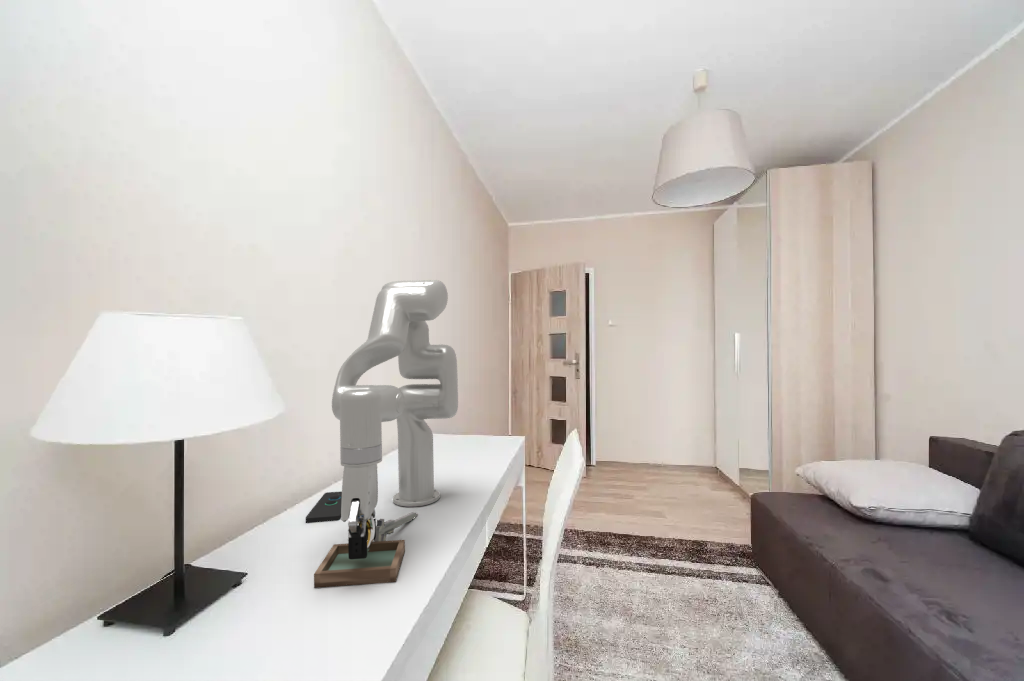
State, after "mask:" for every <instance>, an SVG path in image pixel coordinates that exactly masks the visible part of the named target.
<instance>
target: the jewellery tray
mask: <svg viewBox="0 0 1024 681" xmlns="http://www.w3.org/2000/svg"><path fill="white" fill-rule="evenodd" d="M405 552H406V539H397V540H396V539H394V540H393V539H392V540H386V541H377V542H374V541H373V542H372V545H371V547H370V549H369V550H368V552H367V557H366V558H364V559H349V556H348V542H347V543H334V544H333V545H332V547H331V548H330V549H329V550H328V552H327V554H326V556H325V557H324V558H323V559H322V561H321V563H320V564H319V566H318V567H317V569H316V571H315V572H314V573H313V588H314V589H319V588H320V589H321V588H332V587H334V588H335V587H346V586H347V587H348V586H357V585H358V586H359V585H361V586H362V585H371V584H372V585H373V584H385V583H387V584H389V583H397V580H398V577H399V573H400V569H401V566H402V562H403V559H404V556H405Z"/></svg>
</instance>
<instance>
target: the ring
mask: <svg viewBox="0 0 1024 681" xmlns="http://www.w3.org/2000/svg"><path fill="white" fill-rule="evenodd" d="M358 518H363V515H360V516H358ZM374 519H375V518H373V516H370V518H369V519H367V520H366V525H367V527H368V540H367V552H368V550H369V549H370V547H371V545H372V542H374V540H373V539H374V534H375V523H374ZM360 527H362V522H361V524H360Z"/></svg>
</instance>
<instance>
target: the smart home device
mask: <svg viewBox="0 0 1024 681" xmlns="http://www.w3.org/2000/svg"><path fill="white" fill-rule="evenodd" d="M341 505H342V490H341V491H329V492H328V491H327V492H324V493H323V495H322V496H321V497H320V498H319V500H318V501H317V502H316V504H314V506H313V507H312V508H311V509H310V511H309V513H307V515H306V516H305V524H313V523H327V522H335V521H336V522H338V521H340V520H341Z"/></svg>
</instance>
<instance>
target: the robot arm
mask: <svg viewBox="0 0 1024 681" xmlns="http://www.w3.org/2000/svg"><path fill="white" fill-rule="evenodd" d="M448 300H449V295H448V289H447V287H446V284H445V283H444V282H443V281H441V280H438V279H435V280H434V279H433V280H432V279H428V280H397V281H391V282H387V283H385V284H384V285H382V287H381V290H380V291H379V292H378V293H377V296H376V298H375V302H374V308H373V313H372V317H371V322H370V327H369V331H368V336H367V339H366V340H365V342H363V344H361V345H360V346H359V347H358V348H356V349H355V350H354V351H353V352H352V353H351V354H350V355H349V356H348V357H347V358H346V360H345V361H344V362H343V363H342V365H341V366H340V367H339V371H338V373H337V377H336V379H335V385H334V388H333V393H332V398H331V410H332V413H333V415H334V417H335V418H336V419H337V420H339V432H340V434H339V435H340V436H339V437H340V438H339V443H340V444H339V445H340V446H339V450H340V452H339V453H340V466H342V467H343V473H342V483H341V484H342V485H341V491H342V505H341V519H340V520H341V521H342V522H344V523H346V521H348V523H347V526H348V530H347V532H348V535H347V537H348V539H347V543H348V556H349V559H364V558H366V557H367V541H368V527H367V525H366V520H367V519H369V518H370V516H373V518H374V523H375V534H374V539H373V541H374V540H375V538H376V526H377V519H376V507H377V505H378V500H379V499H378V498H379V474H378V464H380V463H381V462H382V461H383V443H382V442H383V441H382V440H383V439H382V438H383V436H382V435H383V434H382V430H383V429H382V423H387V422H388V423H389V422H392V421H395V420H396V426H397V450H398V451H397V452H398V453H397V457H398V458H397V459H398V460H397V461H398V462H397V463H398V469H397V471H398V492H397V493H395V494H394V495H393V497H392V503H394V504H395V505H397V506H400V507H410V508H411V507H415V508H416V507H423V506H427V505H430V504H434V503H435V502H437V501H438V500H439V499H440V497H441V493H440V491H439V490H437V489H436V488H435V481H434V479H435V478H434V477H435V475H434V474H435V473H434V472H435V470H434V469H435V467H434V463H435V462H434V435H433V431H432V429H431V427H430V426H429V425H428V423H427V422H426V421H425V420H430V419H431V420H432V419H433V420H438V419H439V420H440V419H443V420H444V419H450V418H453V417H455V415H456V414H457V413H458V408H459V388H458V386H459V385H458V360H457V354H456V352H455V349H454V348H453V347H452V346H451V345H448V344H431V343H430V333H429V332H430V330H429V325H428V323H427V322H428V321H429V322H430V321H433V320H436V319H437V318H438V317H439V316H440V315H441V314H442V313H443V312H444V310H445V309H446V308H447V305H448ZM426 321H427V322H426ZM396 357H397V361H398V371H399V374H400V376H401V377H402V378H403V379H407V380H438V381H439V382H440V383H435V384H434V383H420V384H419V383H415V384H414V383H412V384H405V385H402V386H400V387H396V386H395V385H389V384H388V385H387V384H383V385H382V384H378V385H376V384H366V385H365V384H362V385H359V384H358V385H357V383H358V381H359V380H360V378H361V377H362V376H363V375H364V374H365V373H366V372H368V371H369V370H371V369H372V368H375V367H376V366H378V365H381V364H383V363H386V362H387V361H390V360H392V359H394V358H396ZM360 515H363V518H358V516H360ZM361 522H362V527H360V524H361Z"/></svg>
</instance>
